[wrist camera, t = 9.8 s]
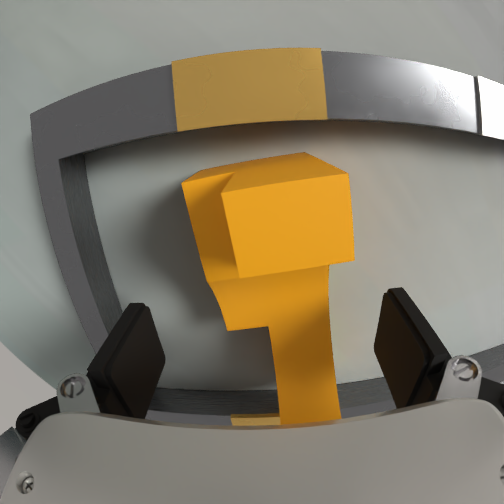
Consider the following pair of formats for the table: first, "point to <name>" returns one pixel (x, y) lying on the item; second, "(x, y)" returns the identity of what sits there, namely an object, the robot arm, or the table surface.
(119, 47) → the table surface
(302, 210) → the pipe clamp
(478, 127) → the rail frame
